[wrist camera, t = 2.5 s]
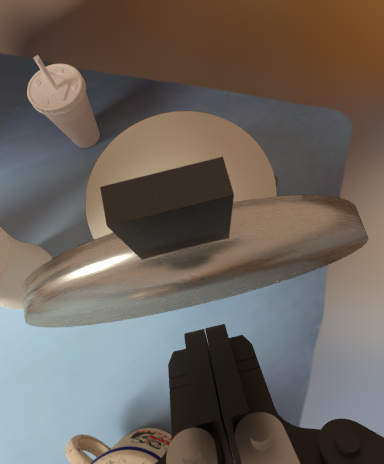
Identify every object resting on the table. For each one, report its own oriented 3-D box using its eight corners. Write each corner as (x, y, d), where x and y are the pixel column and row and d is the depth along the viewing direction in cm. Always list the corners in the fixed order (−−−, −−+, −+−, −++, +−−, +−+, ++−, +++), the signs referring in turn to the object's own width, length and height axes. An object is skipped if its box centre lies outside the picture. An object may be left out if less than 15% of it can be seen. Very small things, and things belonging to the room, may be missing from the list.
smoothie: (76, 165, 46) (18, 92, 33) (55, 131, 48) (-8, 50, 35) (117, 140, 47) (77, 59, 33) (95, 108, 49) (49, 19, 35)
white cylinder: (86, 251, 42) (47, 224, 33) (170, 134, 46) (157, 79, 37) (214, 332, 38) (212, 328, 28) (293, 195, 42) (314, 151, 33)
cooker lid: (307, 259, 30) (313, 276, 29) (96, 311, 30) (98, 329, 29) (537, 68, 8) (572, 121, 8) (-217, 255, 8) (-225, 318, 8)
